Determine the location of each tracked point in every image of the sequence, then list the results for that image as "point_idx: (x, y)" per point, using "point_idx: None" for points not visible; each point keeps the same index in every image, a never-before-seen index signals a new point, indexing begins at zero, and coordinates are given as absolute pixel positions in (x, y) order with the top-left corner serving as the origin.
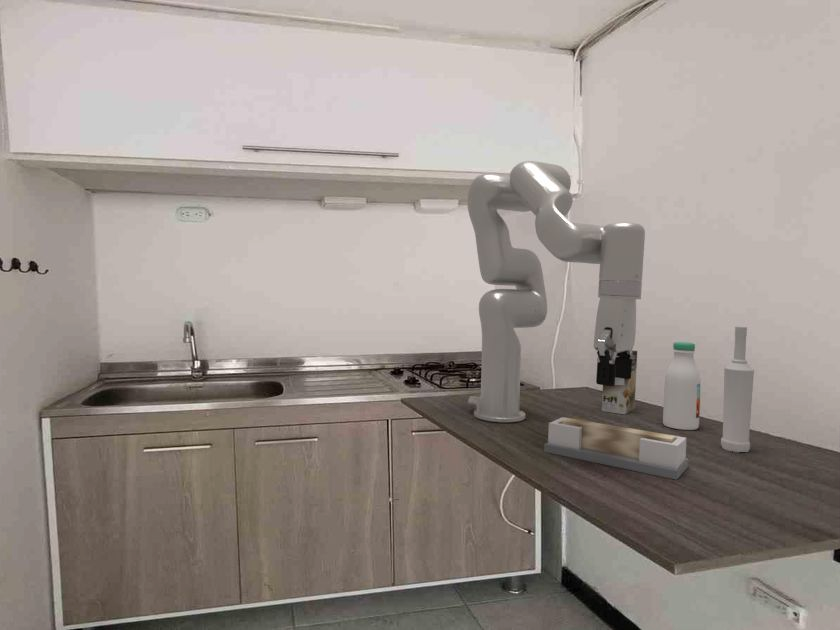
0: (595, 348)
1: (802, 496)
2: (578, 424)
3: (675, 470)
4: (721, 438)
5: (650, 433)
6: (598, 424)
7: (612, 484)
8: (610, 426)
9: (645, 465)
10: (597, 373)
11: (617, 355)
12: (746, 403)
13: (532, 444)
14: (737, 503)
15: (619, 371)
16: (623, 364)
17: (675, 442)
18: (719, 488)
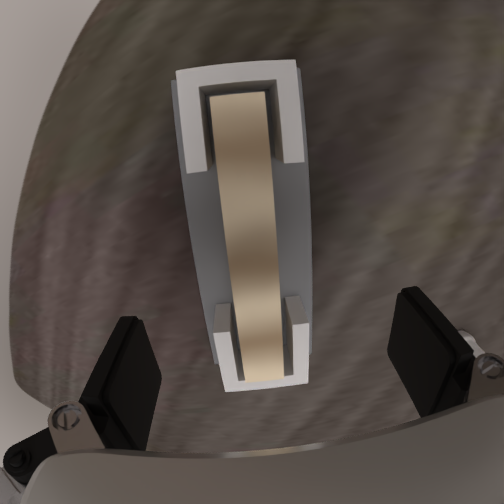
0: (51, 460)
1: (275, 443)
2: (216, 154)
3: (215, 361)
4: (464, 338)
5: (262, 342)
6: (254, 207)
7: (103, 291)
8: (257, 245)
9: (205, 318)
10: (107, 350)
11: (472, 370)
12: None
13: (215, 30)
14: (186, 415)
15: (407, 332)
16: (421, 375)
17: (249, 383)
18: (228, 396)
